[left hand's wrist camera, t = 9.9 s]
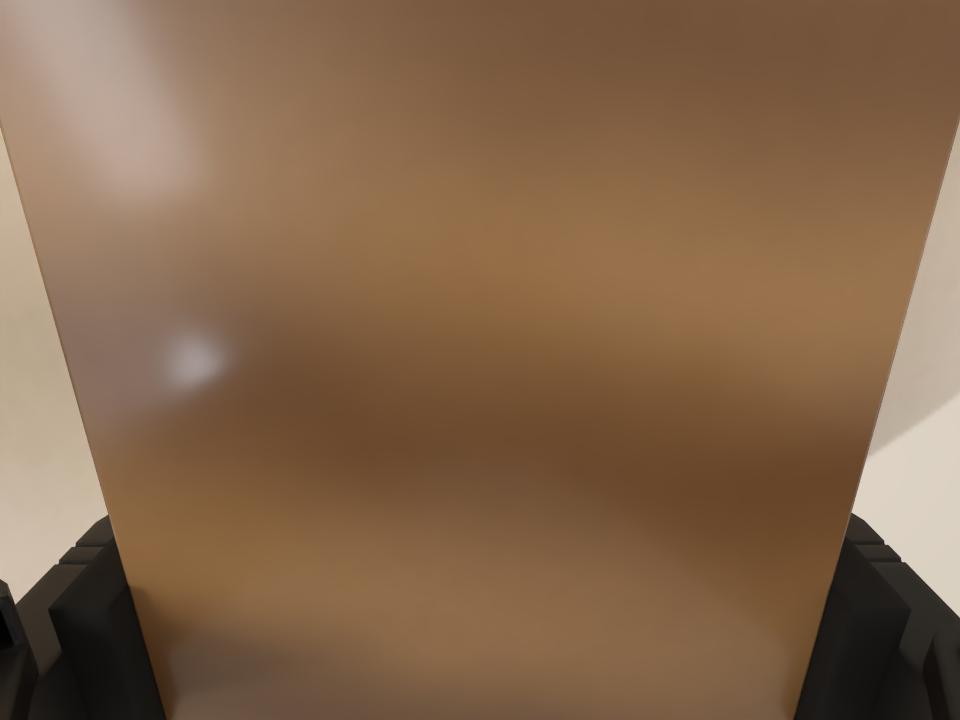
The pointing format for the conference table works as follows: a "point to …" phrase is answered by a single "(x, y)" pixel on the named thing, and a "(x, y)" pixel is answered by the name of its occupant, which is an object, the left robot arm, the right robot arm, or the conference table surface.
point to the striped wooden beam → (479, 333)
